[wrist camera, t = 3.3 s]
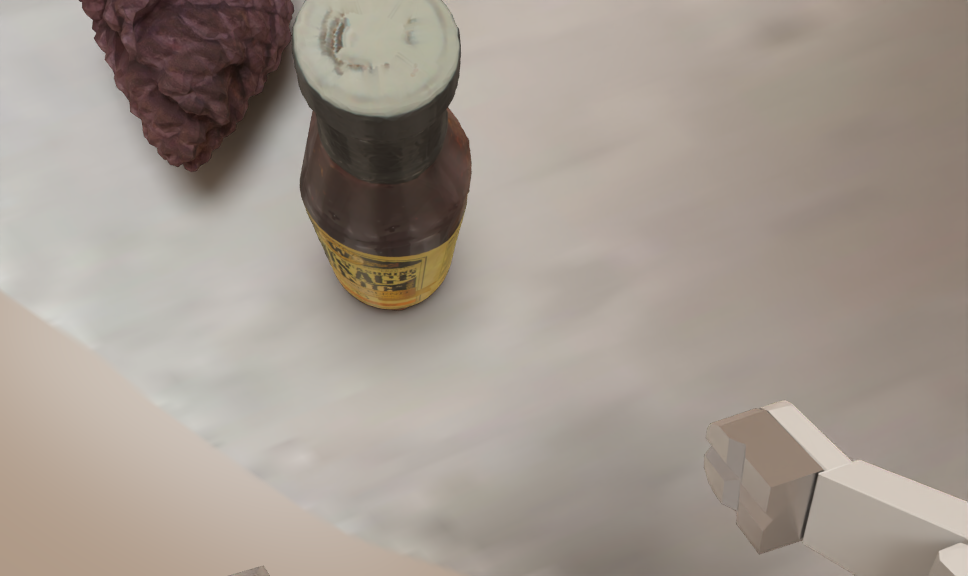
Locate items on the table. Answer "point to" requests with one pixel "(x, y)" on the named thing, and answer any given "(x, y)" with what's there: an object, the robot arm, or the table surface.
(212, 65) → the pine cone
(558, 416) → the table surface
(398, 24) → the sauce bottle
